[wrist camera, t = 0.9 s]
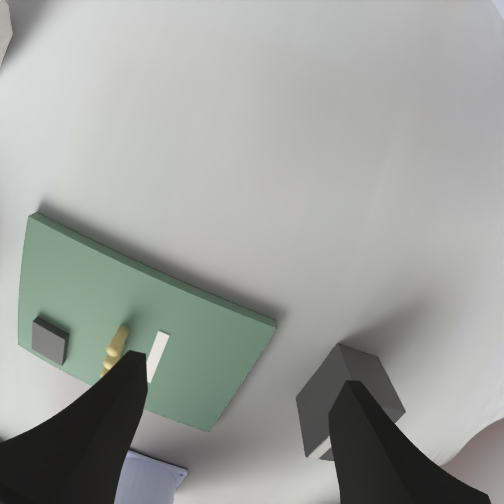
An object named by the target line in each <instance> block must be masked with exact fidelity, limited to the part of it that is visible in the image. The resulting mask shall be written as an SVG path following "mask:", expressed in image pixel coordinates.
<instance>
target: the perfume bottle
mask: <svg viewBox="0 0 504 504" xmlns="http://www.w3.org/2000/svg"><path fill="white" fill-rule="evenodd" d="M12 35H13V32H12V26H11V19H10V12H9V5H8V3H7V2H6V1H5V0H0V66H1V63H2V61H3V58H4V55H5V52H6V50H7V47H8V45H9V42H10V40H11V37H12Z"/></svg>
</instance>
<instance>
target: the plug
mask: <svg viewBox="0 0 504 504" xmlns="http://www.w3.org/2000/svg"><path fill="white" fill-rule="evenodd" d="M346 380H354V381H361V382H362V383H363V384H364V386H365V387H366V388H367V389H368V391H369V392H370V393H371V395H372V396H373V397H374V398H375V400H376V401H377V402H378V404H379V405H380V406H381V408H382V409H383V410H384V411H385V413H386V414H387V415H388V416H389V418H390V419H391V420H392V421H393V422H394V424H395V423H396V422H397V421H398V420H399V418H400V417H401V416H402V415H403V414H404V413H405V412H406V411H405V409H404V407H403V405H402V403H401V401H400V399H399V397H398V395H397V393H396V391H395V389H394V387H393V385H392V383H391V381H390V379H389V377H388V375H387V373H386V371H385V369H384V368H383V366H382V364H381V362H380V360H379V358H378V357H375V356H372V355H370V354H367V353H364V352H361V351H358V350H355V349H352V348H349V347H347V346H344V345H341V344H338V343H337V344H336V346H335V347H334V348H333V350H332V351H331V353H330V354H329V355H328V357H327V358H326V359H325V361H324V362H323V363H322V365H321V366H320V367H319V369H318V370H317V371H316V373H315V374H314V375H313V377H312V378H311V379H310V381H309V382H308V383H307V384H306V386H305V387H304V388H303V390H302V391H301V392H300V393H299V395H298V396H297V397H296V402H297V407H298V413H299V419H300V425H301V432H302V438H303V444H304V450H305V456H306V457H308V458H313V459H322V460H329V461H334V457H333V452H332V447H331V442H330V436H329V420H328V413H329V412H330V410H331V408H332V406H333V404H334V402H335V400H336V398H337V397H338V395H339V393H340V391H341V389H342V387H343V385H344V383H345V381H346Z"/></svg>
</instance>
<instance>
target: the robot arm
mask: <svg viewBox="0 0 504 504" xmlns="http://www.w3.org/2000/svg"><path fill="white" fill-rule="evenodd" d="M147 393H148V382H147V364H146V353H141V352H137V351H132V350H129V351H127V352H126V353H125V354H124V355H123V356H122V358H121V359H120V360H119V361H118V362H117V363H116V364H115V365H114V366H113V367H112V368H111V369H110V370H109V371H108V372H107V373H106V374H105V375H104V376H103V377H102V378H101V379H99V380H98V381H97V382H96V383H95V384H94V385H93V386H92V387H91V388H90V389H89V390H87V391H86V392H85V393H84V394H83V395H81V396H80V397H79V398H78V399H77V400H75V401H74V402H73V403H71V404H70V405H69V406H67V407H66V408H65V409H63V410H62V411H60V412H59V413H58V414H56V415H55V416H53V417H52V418H50V419H48V420H47V421H45V422H43V423H41V424H40V425H38V426H36V427H34V428H33V429H31V430H29V431H27V432H24V433H22V434H20V435H18V436H16V437H13V438H11V439H9V440H6V441H4V442H1V443H0V504H173V500H174V493H175V489H176V488H177V487H178V486H179V484H180V483H181V482H182V481H183V479H184V478H185V477H186V476H187V474H188V471H187V470H186V469H183V468H180V467H176V466H173V465H170V464H167V463H164V462H161V461H158V460H155V459H152V458H149V457H146V456H144V455H141V454H138V453H136V452H133V451H130V450H129V448H130V445H131V442H132V440H133V437H134V435H135V432H136V429H137V427H138V424H139V422H140V419H141V416H142V413H143V409H144V405H145V401H146V397H147ZM328 420H329V436H330V442H331V447H332V452H333V457H334V462H335V467H336V472H337V478H338V483H339V489H340V501H341V504H491V502H490V499H489V496H488V495H487V494H485V493H483V492H481V491H479V490H477V489H474V488H472V487H470V486H468V485H466V484H465V483H463V482H461V481H460V480H458V479H456V478H455V477H453V476H452V475H450V474H449V473H447V472H446V471H444V470H443V469H441V468H440V467H439V466H438V465H436V464H435V463H434V462H432V461H431V460H430V459H429V458H428V457H427V456H425V455H424V454H423V453H422V452H421V451H420V450H419V449H418V448H417V447H416V446H415V445H414V444H413V443H412V442H411V441H410V440H409V439H408V438H407V437H406V436H405V435H404V434H403V433H402V432H401V431H400V429H399V428H398V427H397V426H396V425H395V424H394V422H393V421H392V420H391V419H390V418H389V416H388V415H387V414H386V413H385V411H384V410H383V409H382V408H381V406H380V405H379V404H378V402H377V401H376V400H375V398H374V397H373V396H372V395H371V393H370V392H369V391H368V389H367V388H366V387H365V386H364V384H363V383H362V382H361V381H354V380H346V381H345V383H344V385H343V387H342V389H341V391H340V393H339V395H338V397H337V398H336V400H335V402H334V404H333V406H332V408H331V410H330V412H329V413H328Z"/></svg>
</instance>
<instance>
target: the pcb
mask: <svg viewBox="0 0 504 504" xmlns="http://www.w3.org/2000/svg"><path fill="white" fill-rule="evenodd" d="M276 329H277V327H276V320H274V319H271V318H269V317H266V316H264V315H261V314H259V313H256V312H254V311H251V310H249V309H246V308H244V307H241V306H239V305H236V304H234V303H231V302H229V301H227V300H224V299H222V298H219V297H217V296H215V295H212V294H210V293H207V292H205V291H203V290H200V289H198V288H196V287H193V286H191V285H189V284H186V283H184V282H182V281H179V280H177V279H175V278H173V277H170V276H168V275H166V274H164V273H161V272H159V271H157V270H155V269H152V268H150V267H148V266H146V265H144V264H141V263H139V262H137V261H135V260H133V259H130V258H128V257H126V256H124V255H122V254H120V253H118V252H116V251H113V250H111V249H109V248H107V247H105V246H103V245H101V244H99V243H97V242H95V241H93V240H90V239H88V238H86V237H84V236H82V235H80V234H78V233H76V232H74V231H72V230H70V229H68V228H66V227H64V226H62V225H60V224H58V223H56V222H54V221H52V220H50V219H48V218H46V217H45V216H43V215H41V214H39V213H37V212H36V213H34V214H32V215H29V216H28V221H27V227H26V233H25V240H24V248H23V256H22V264H21V275H20V287H19V305H18V345H20V346H21V347H23V348H24V349H26V350H28V351H29V352H31V353H32V354H34V355H36V356H37V357H39V358H41V359H42V360H44V361H46V362H48V363H49V364H51V365H53V366H55V367H56V368H58V369H60V370H62V371H64V372H66V373H67V374H69V375H71V376H73V377H75V378H77V379H79V380H81V381H83V382H85V383H87V384H89V385H91V386H93V385H94V384H95V383H96V382H97V381H98V380H99V379H101V378H102V377H103V376H104V375H105V374H106V373H107V372H108V371H109V370H110V369H111V368H112V367H113V366H114V365H115V364H116V363H117V362H118V361H119V360H120V359H121V358H122V356H123V355H124V354H125V353H126V352H127V351H129V350H132V351H137V352H141V353H146V364H147V382H148V393H147V397H146V401H145V405H144V409H145V410H148V411H150V412H153V413H155V414H158V415H161V416H163V417H166V418H169V419H172V420H174V421H177V422H180V423H183V424H186V425H189V426H192V427H195V428H198V429H201V430H205V431H208V432H209V431H210V430H211V428H212V427H213V425H214V424H215V423H216V421H217V420H218V418H219V417H220V415H221V414H222V412H223V411H224V409H225V408H226V406H227V405H228V403H229V402H230V401H231V399H232V398H233V396H234V395H235V393H236V392H237V390H238V388H239V387H240V385H241V384H242V382H243V381H244V379H245V378H246V376H247V375H248V373H249V372H250V370H251V369H252V367H253V365H254V364H255V362H256V361H257V359H258V358H259V356H260V354H261V353H262V351H263V350H264V348H265V347H266V345H267V343H268V342H269V340H270V339H271V337H272V335H273V334H274V332H275V330H276Z"/></svg>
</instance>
